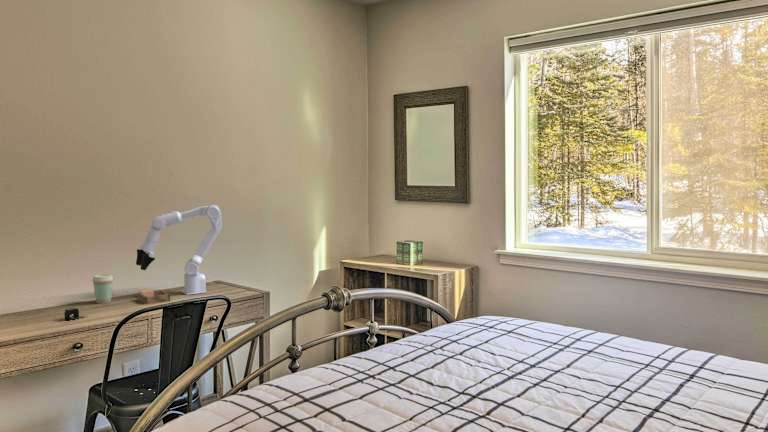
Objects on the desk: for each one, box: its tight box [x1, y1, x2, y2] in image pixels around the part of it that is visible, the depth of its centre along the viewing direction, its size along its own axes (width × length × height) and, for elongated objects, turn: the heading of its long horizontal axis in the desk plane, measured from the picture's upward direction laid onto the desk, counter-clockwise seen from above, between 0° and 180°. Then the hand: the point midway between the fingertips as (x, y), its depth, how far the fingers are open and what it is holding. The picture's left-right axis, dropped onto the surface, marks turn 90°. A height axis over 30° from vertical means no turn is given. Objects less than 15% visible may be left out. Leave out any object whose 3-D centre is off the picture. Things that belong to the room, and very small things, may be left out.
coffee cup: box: [91, 273, 114, 305], centre depth 266 cm, size 9×8×12 cm
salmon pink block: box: [138, 288, 155, 297], centre depth 279 cm, size 5×6×3 cm
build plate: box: [57, 307, 85, 322], centre depth 237 cm, size 12×7×5 cm, turn 154°
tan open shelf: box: [137, 290, 171, 305], centre depth 271 cm, size 11×11×3 cm
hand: (140, 267), depth 280 cm, fingers open, 7 cm apart
